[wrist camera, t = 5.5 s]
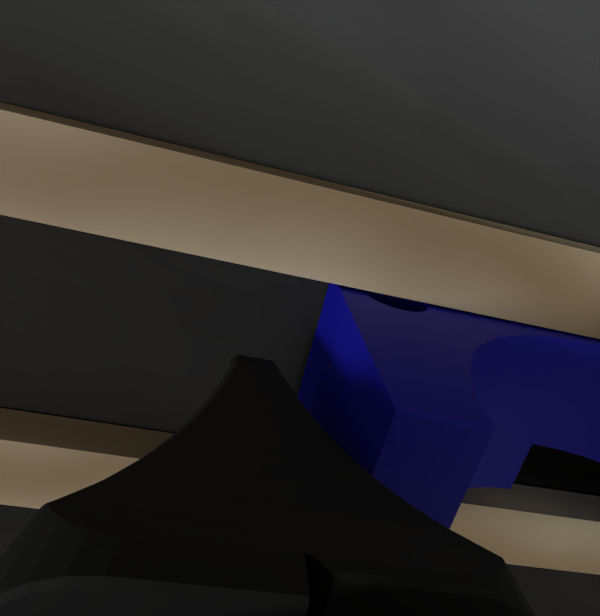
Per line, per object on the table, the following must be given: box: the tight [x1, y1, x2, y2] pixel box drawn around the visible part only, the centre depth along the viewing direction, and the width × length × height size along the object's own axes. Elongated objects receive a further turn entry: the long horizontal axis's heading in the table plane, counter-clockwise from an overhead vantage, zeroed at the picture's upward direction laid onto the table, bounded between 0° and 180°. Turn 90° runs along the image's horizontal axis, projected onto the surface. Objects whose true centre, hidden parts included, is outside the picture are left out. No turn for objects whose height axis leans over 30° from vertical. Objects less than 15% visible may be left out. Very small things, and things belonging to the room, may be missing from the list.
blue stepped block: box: [298, 283, 600, 529], centre depth 11 cm, size 12×4×6 cm, turn 76°
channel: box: [0, 102, 600, 575], centre depth 12 cm, size 10×21×4 cm, turn 76°
